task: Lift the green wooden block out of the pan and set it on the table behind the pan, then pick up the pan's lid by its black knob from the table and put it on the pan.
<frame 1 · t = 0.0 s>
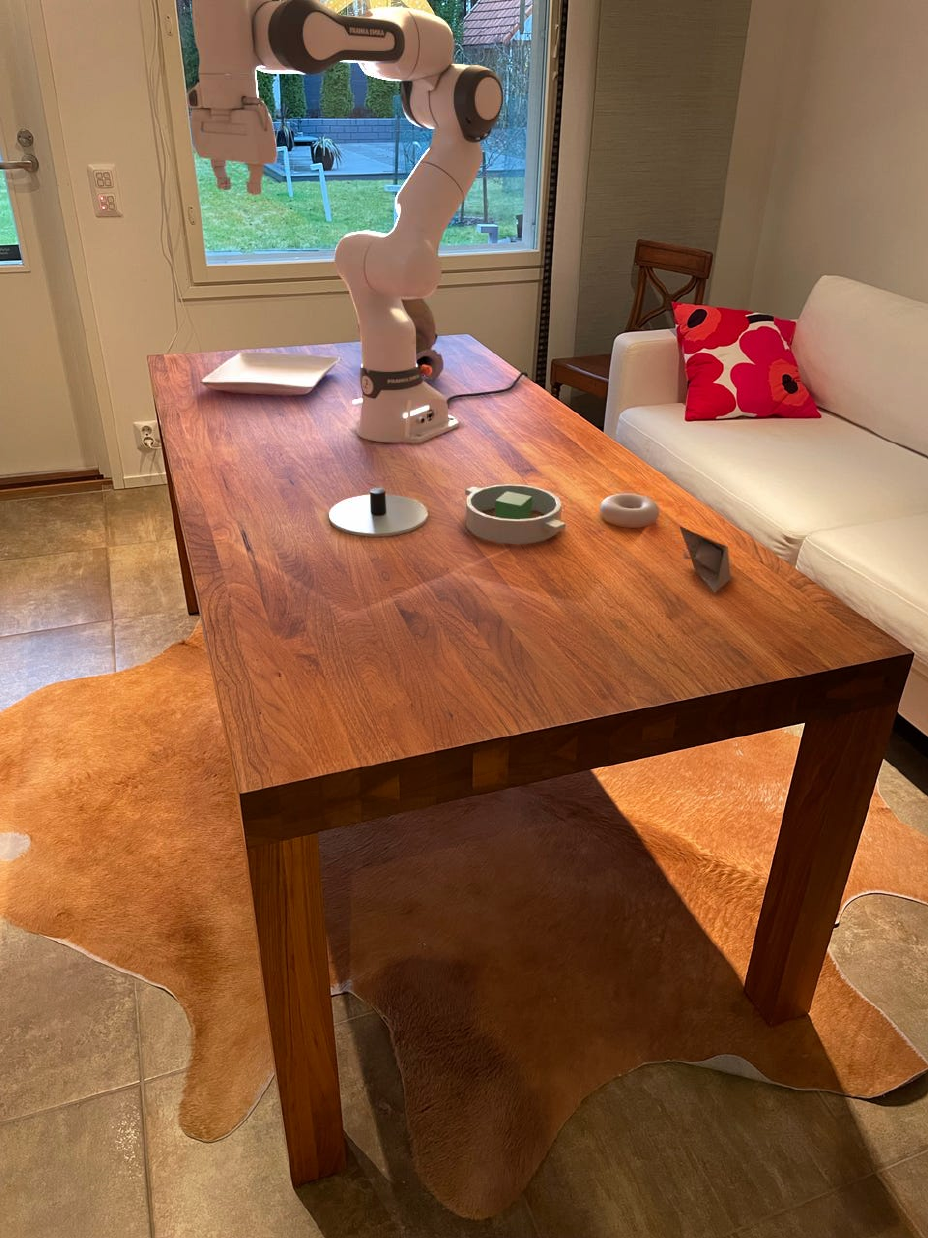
hand: (239, 191, 153), 48 cm above the table, tool pointing down, fingers open, 8 cm apart
square plate: (274, 383, 226), on the table
pan: (512, 526, 154), on the table
donut: (628, 520, 157), on the table
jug: (406, 369, 239), on the table
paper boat: (699, 575, 140), on the table
pan lid: (378, 516, 155), point 1 cm above the table
block: (512, 523, 154), resting on pan
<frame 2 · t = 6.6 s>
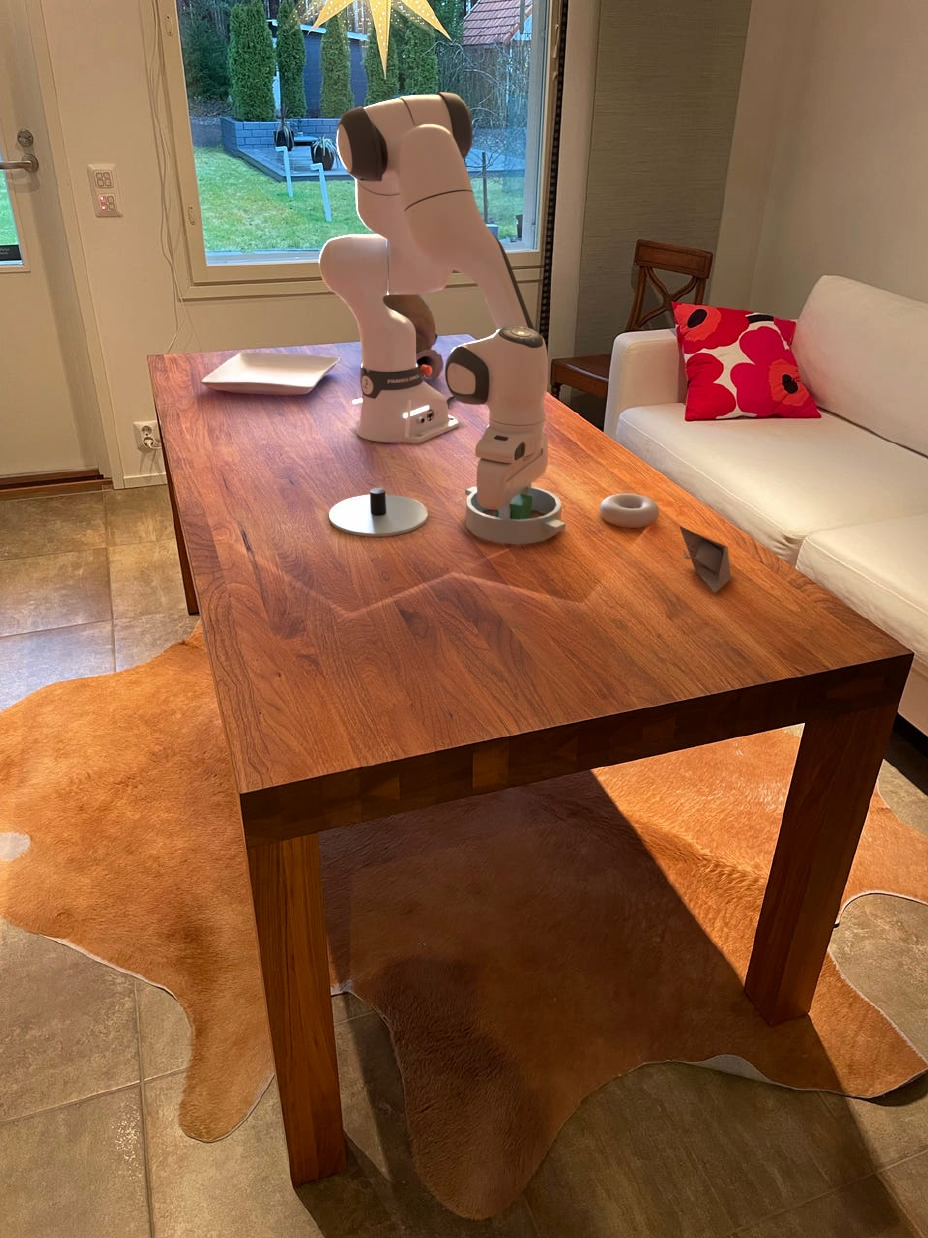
hand: (512, 514, 153), 2 cm above the table, tool pointing down, fingers closed on block, 4 cm apart
block: (512, 523, 154), point 1 cm above the table, touching gripper, pan
everything else where it was.
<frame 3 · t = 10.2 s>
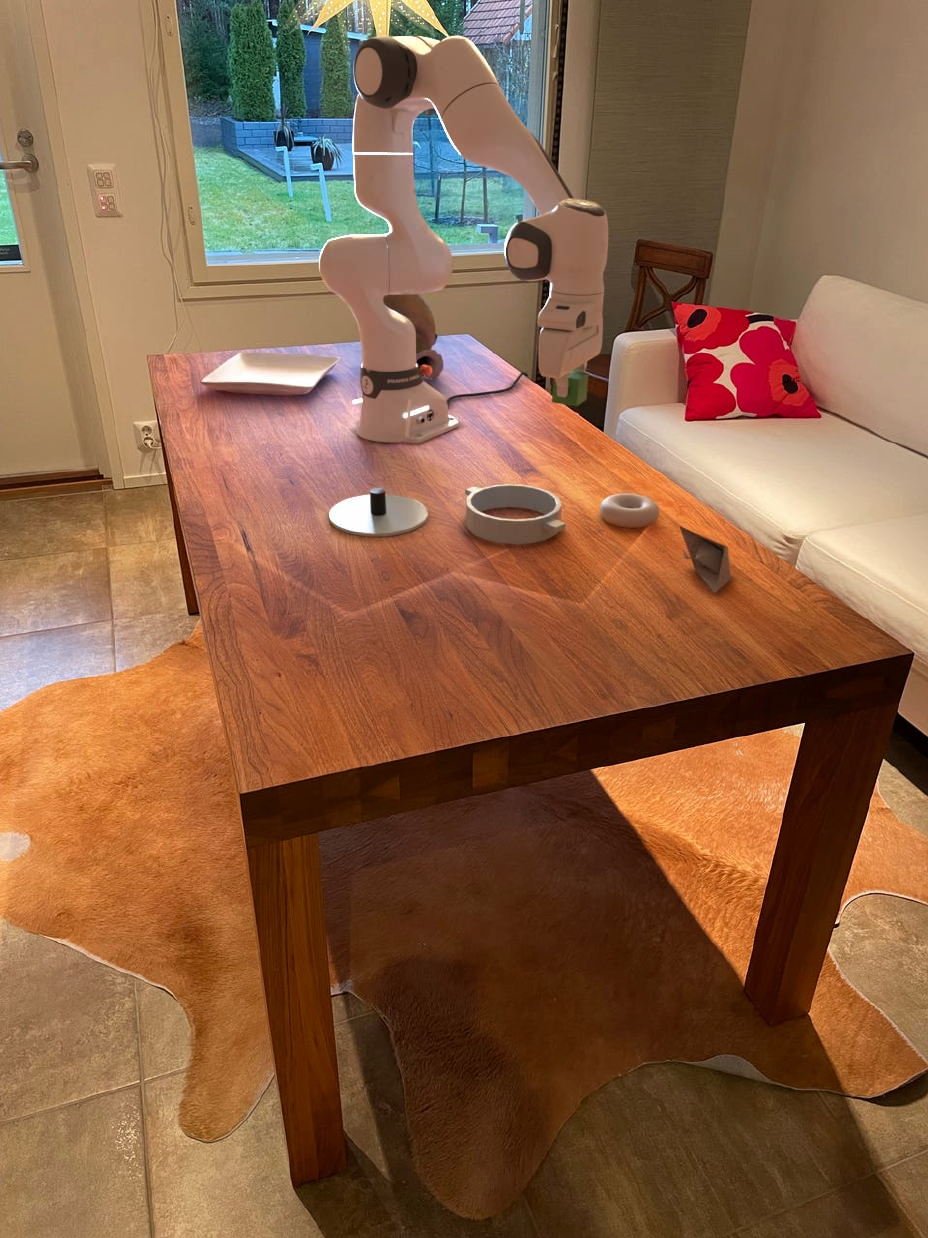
hand: (569, 391, 158), 18 cm above the table, tool pointing down, fingers closed on block, 4 cm apart
block: (569, 400, 159), point 17 cm above the table, touching gripper
everything else where it was.
when the fingers open (1 cm above the table, at t = 13.9 s): block stays where it is, on the table.
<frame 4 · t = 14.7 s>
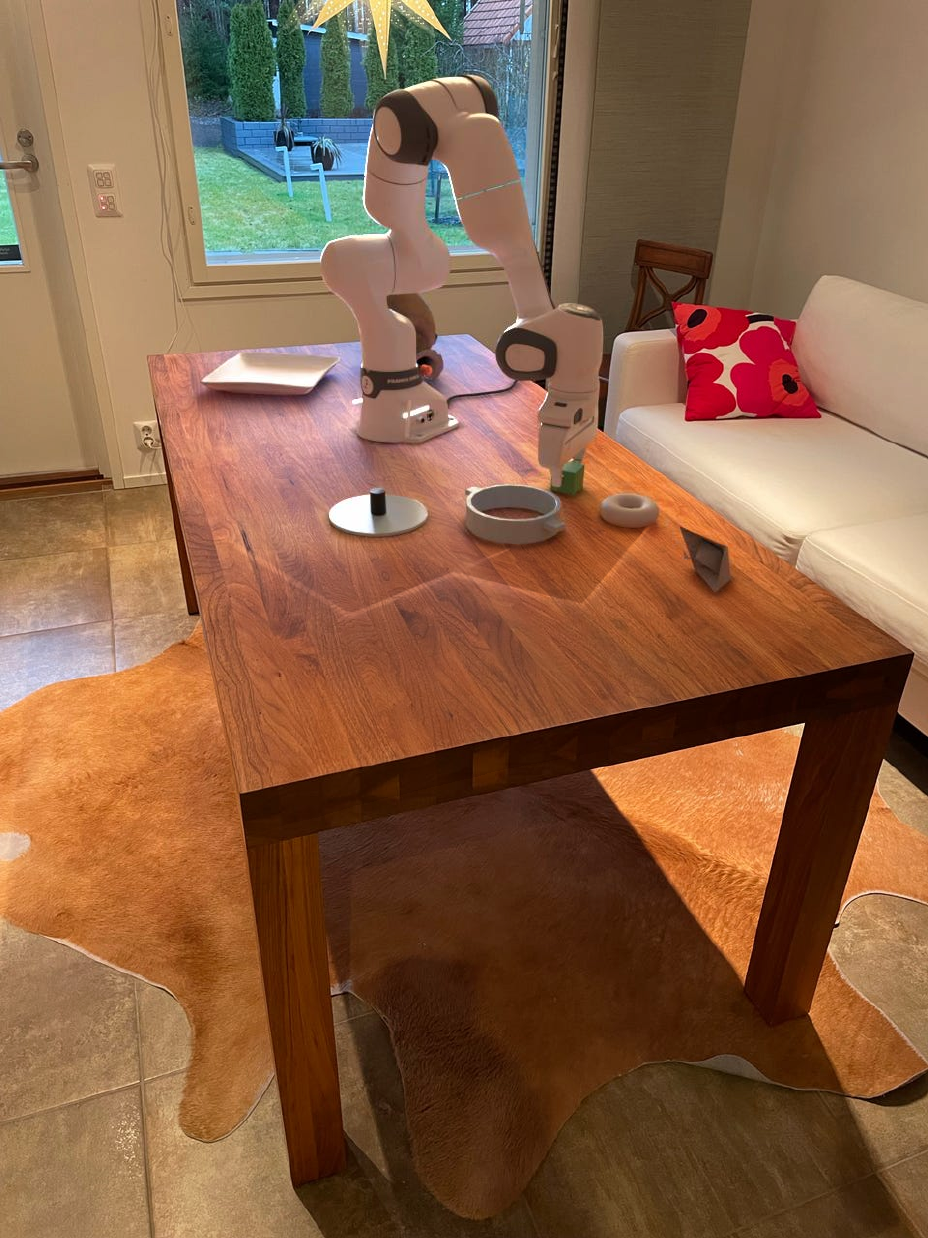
hand: (566, 476, 167), 2 cm above the table, tool pointing down, fingers open, 8 cm apart
block: (566, 490, 168), on the table
everything else where it was.
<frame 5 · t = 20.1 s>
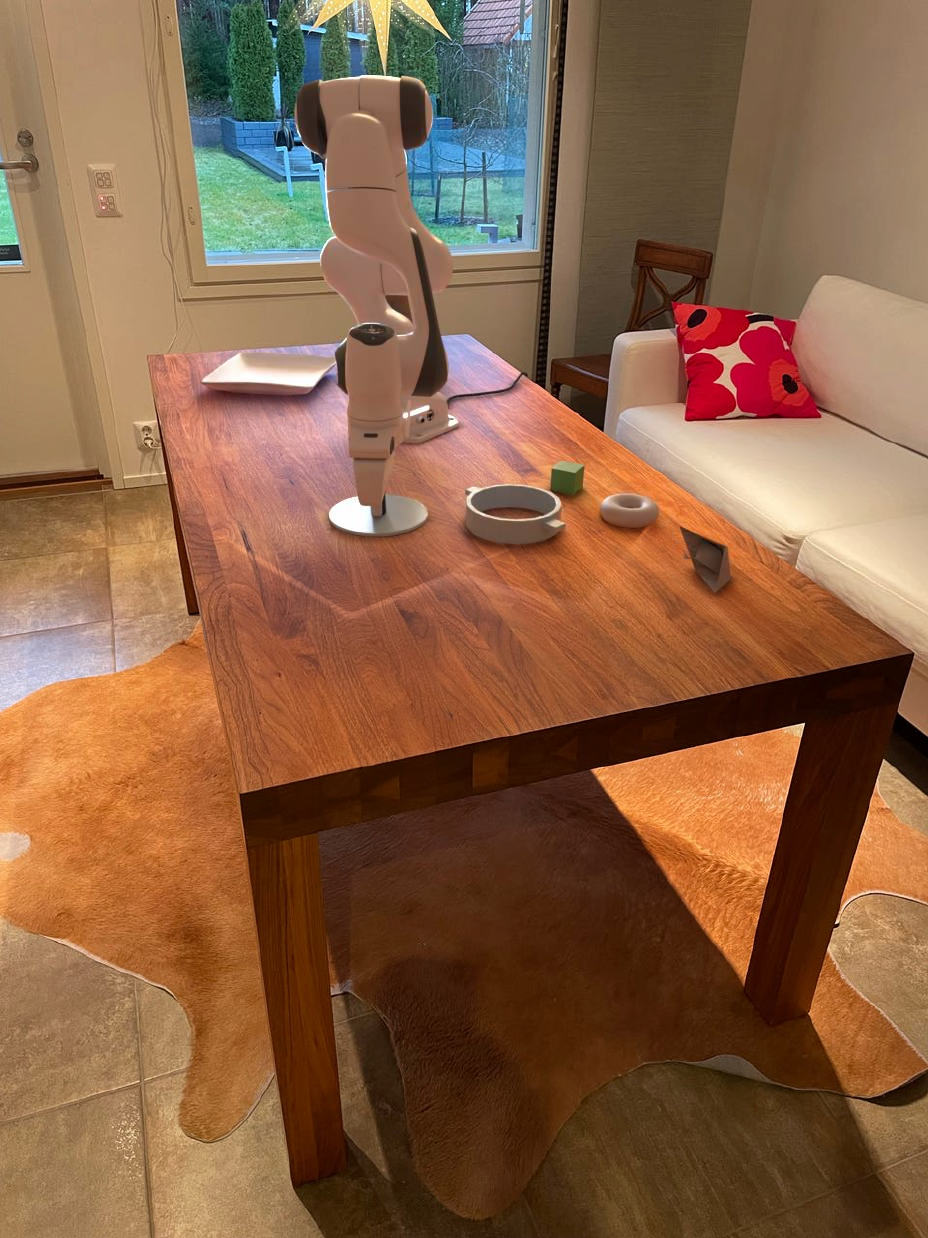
hand: (378, 509, 155), 2 cm above the table, tool pointing down, fingers closed on pan lid, 2 cm apart
pan lid: (378, 515, 155), point 1 cm above the table, touching gripper
everything else where it was.
when the fingers open (5 cm above the table, at t = 26.9 s): pan lid stays where it is, resting on pan.
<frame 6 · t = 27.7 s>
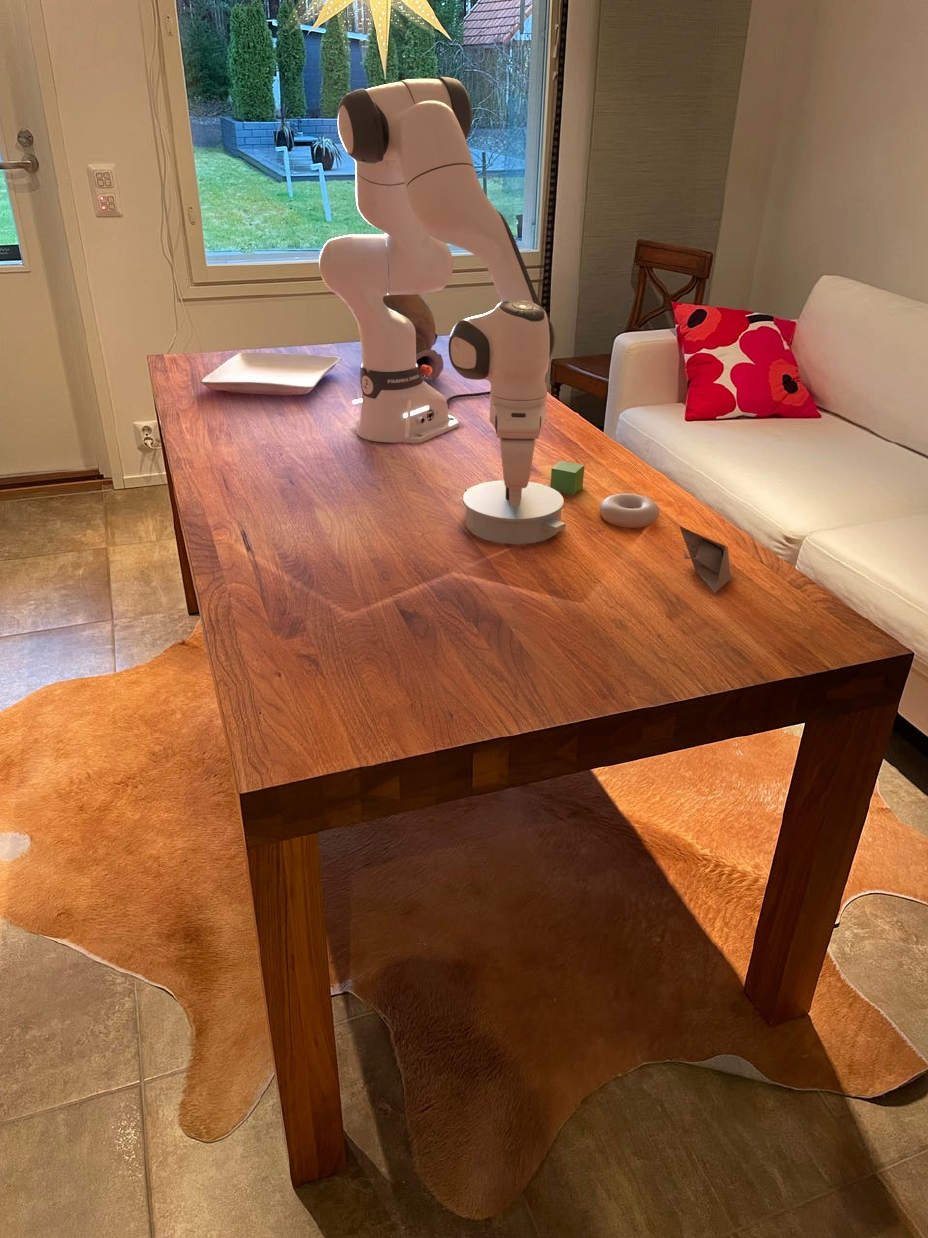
hand: (514, 493, 151), 6 cm above the table, tool pointing down, fingers open, 8 cm apart
pan lid: (513, 501, 152), point 4 cm above the table, touching pan
everything else where it was.
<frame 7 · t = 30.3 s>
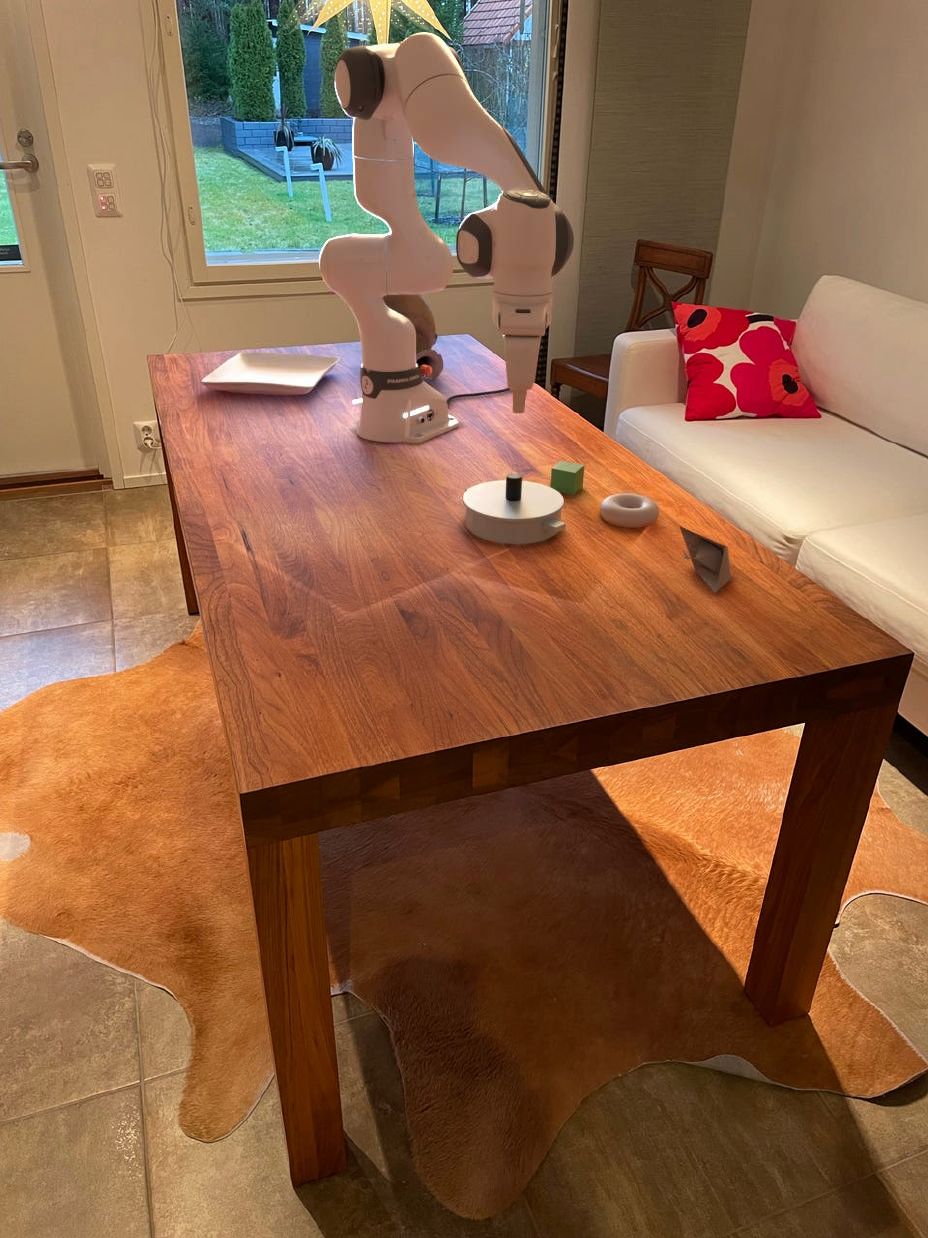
hand: (518, 402, 143), 21 cm above the table, tool pointing down, fingers open, 8 cm apart
nothing on the table moved.
at the end: block inside the target area (0.2 cm from its centre), on the table; pan lid 0.1 cm off-centre on the pan, point 4.5 cm above the pan's base; pan lid tilted 0° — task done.
